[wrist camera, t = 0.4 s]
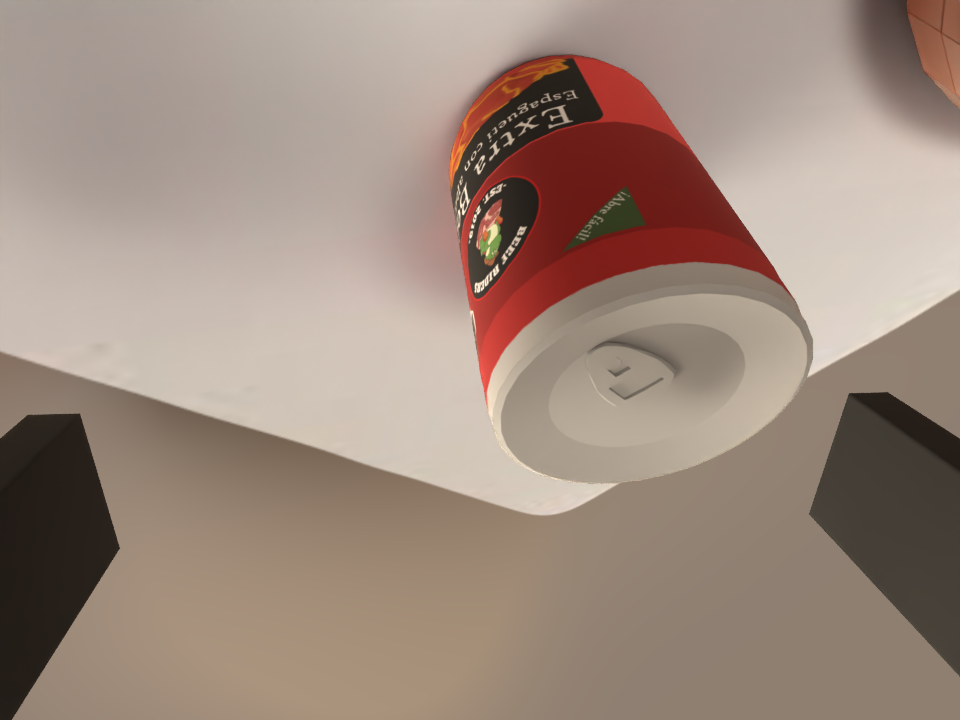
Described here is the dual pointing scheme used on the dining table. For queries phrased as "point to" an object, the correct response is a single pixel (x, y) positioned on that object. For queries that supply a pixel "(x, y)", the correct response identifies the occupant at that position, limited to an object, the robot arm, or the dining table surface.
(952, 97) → the bowl
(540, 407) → the canned food
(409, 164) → the dining table surface
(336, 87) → the dining table surface
